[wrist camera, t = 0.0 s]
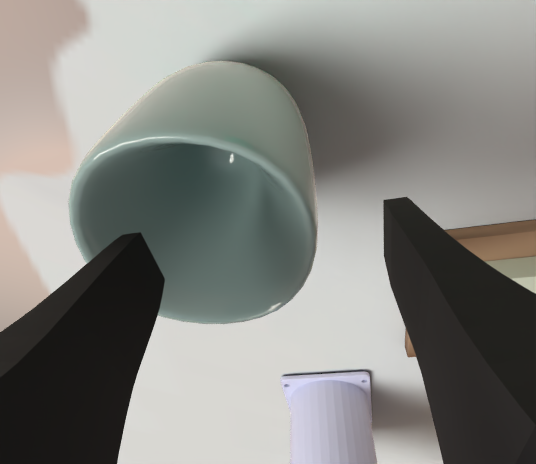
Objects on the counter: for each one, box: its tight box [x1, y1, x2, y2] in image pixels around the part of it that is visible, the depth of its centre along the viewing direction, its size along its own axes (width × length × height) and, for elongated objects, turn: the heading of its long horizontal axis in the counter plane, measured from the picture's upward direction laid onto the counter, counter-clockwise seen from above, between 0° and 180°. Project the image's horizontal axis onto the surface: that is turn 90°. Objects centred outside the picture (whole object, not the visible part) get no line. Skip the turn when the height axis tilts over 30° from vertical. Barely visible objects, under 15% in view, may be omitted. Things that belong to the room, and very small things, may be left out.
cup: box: [68, 61, 318, 324], centre depth 15 cm, size 8×8×10 cm
